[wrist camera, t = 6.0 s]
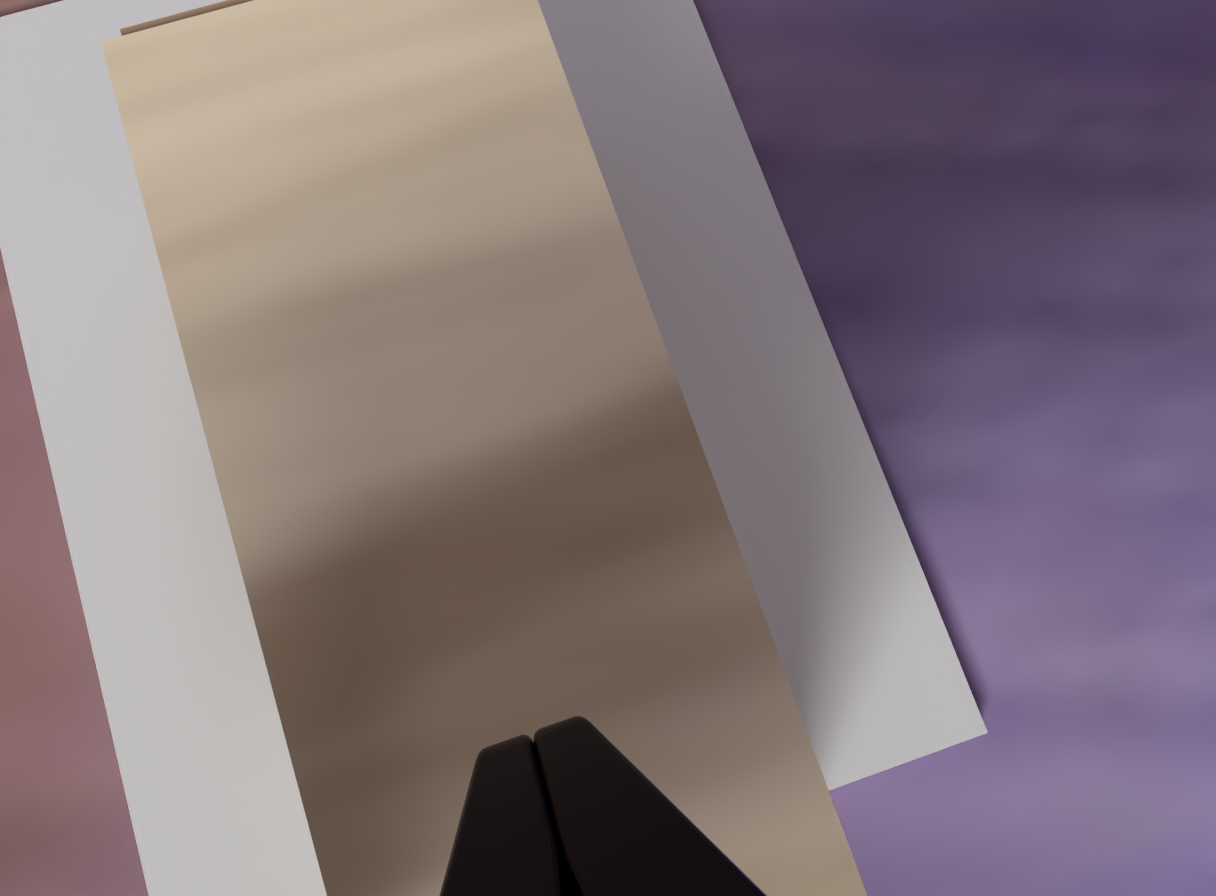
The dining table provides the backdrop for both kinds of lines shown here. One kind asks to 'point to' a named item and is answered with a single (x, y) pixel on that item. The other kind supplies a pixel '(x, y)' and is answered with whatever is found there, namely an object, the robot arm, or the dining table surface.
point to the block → (451, 431)
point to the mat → (192, 504)
